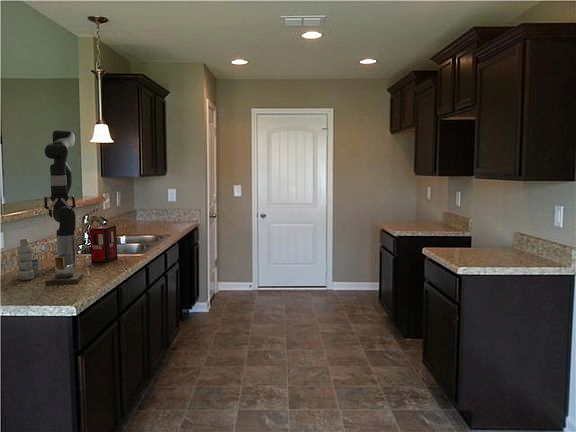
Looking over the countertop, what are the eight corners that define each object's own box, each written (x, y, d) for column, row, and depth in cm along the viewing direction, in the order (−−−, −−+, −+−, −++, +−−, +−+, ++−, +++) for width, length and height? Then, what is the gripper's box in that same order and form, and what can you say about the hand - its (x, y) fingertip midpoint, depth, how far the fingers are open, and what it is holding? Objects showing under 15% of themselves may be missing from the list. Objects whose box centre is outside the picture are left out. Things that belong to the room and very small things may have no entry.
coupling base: (52, 278, 245) (52, 274, 245) (82, 277, 248) (82, 272, 248) (45, 285, 231) (45, 280, 231) (77, 283, 234) (77, 278, 234)
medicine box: (24, 278, 246) (23, 261, 245) (19, 277, 249) (17, 260, 248) (39, 275, 253) (38, 259, 252) (34, 274, 255) (33, 258, 254)
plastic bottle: (20, 279, 245) (17, 239, 243) (35, 278, 247) (32, 238, 245) (18, 282, 239) (15, 241, 237) (33, 280, 241) (30, 240, 239)
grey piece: (68, 278, 235) (67, 257, 234) (51, 278, 234) (50, 257, 233) (76, 273, 245) (75, 253, 244) (60, 273, 244) (59, 253, 243)
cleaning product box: (102, 258, 299) (101, 225, 297) (117, 258, 299) (115, 225, 297) (91, 263, 283) (89, 229, 281) (107, 263, 283) (105, 228, 281)
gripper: (42, 185, 242) (44, 218, 244) (73, 184, 247) (75, 216, 249) (43, 184, 249) (45, 216, 251) (74, 184, 254) (76, 215, 256)
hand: (60, 216), depth 250 cm, fingers open, 8 cm apart
